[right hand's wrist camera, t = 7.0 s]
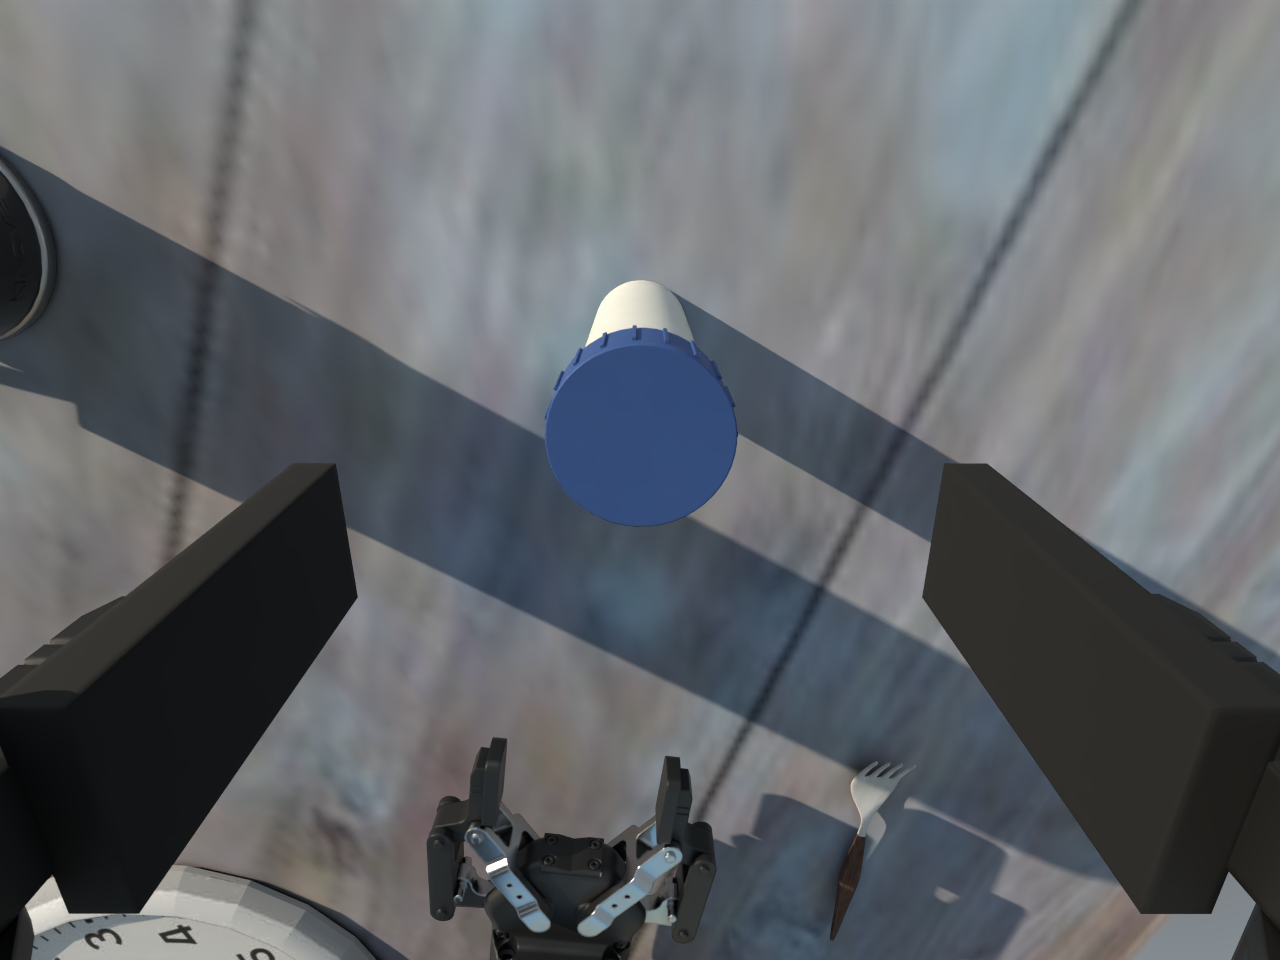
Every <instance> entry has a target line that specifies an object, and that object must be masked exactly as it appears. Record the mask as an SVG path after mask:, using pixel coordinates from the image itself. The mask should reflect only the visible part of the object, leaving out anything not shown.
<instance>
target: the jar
mask: <svg viewBox="0 0 1280 960" xmlns="http://www.w3.org/2000/svg"><path fill="white" fill-rule="evenodd" d="M633 325H637V328H654V329H659V330H663V328H666V329H667V331H668V332H670V333H673V334H675V335H678V336H680V337H682V338H684V339H685V340H687V341H689V342H690V341H691V340H692V341H694V339H693V336H692V333H691V330H690V328H689V325H688V322H687V319H686V316H685V313H684V311H683V308H682V306H681V304H680V302H679V301H678V299H677V298H676V297H675V296H674V295H673V294H672V293H671V292H670V291H669V290H668V289H666V288H665V287H663V286H661V285H659V284H657V283H654V282H650V281H643V280H640V281H631V282H627V283H624V284H622V285H620V286H618V287H617V288H615V289H614V290H612V291H611V292H610V293H609V294H608V295H607V296H606V297H605V299H604V300H603V301H602V303H601V305H600V307H599V309H598V312H597V315H596V318H595V321H594V323H593V326H592V329H591V332H590V335H589V338H588V341H587V344H586V346H587V345H589V344H590V343H592V342H593V341H595V340H597V339H598V338H600V337H602V335H603V333H604V332H607V334H609V333H612V332H615V331H618V330H622V329H629V328H632V327H633Z"/></svg>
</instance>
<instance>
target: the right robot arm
mask: <svg viewBox="0 0 1280 960" xmlns="http://www.w3.org/2000/svg"><path fill="white" fill-rule="evenodd" d="M357 598H358V596H357V590H356V584H355V578H354V572H353V566H352V560H351V554H350V548H349V542H348V535H347V529H346V523H345V517H344V511H343V505H342V499H341V493H340V487H339V481H338V475H337V469H336V464H292V465H291V466H289V467H288V468H287V469H286V470H284V471H283V472H282V473H281V474H279V475H278V476H277V477H275V478H274V479H273V480H272V481H270V482H269V483H268V484H267V485H265V486H264V487H263V488H262V489H260V490H259V491H258V492H257V493H255V494H254V495H253V496H252V497H250V498H249V499H248V500H246V501H245V502H244V503H243V504H241V505H240V506H239V507H238V508H236V509H235V510H234V511H233V512H231V513H230V514H229V515H228V516H226V517H225V518H224V519H223V520H221V521H220V522H219V523H217V524H216V525H215V526H214V527H212V528H211V529H210V530H209V531H207V532H206V533H205V534H204V535H202V536H201V537H200V538H199V539H197V540H196V541H195V542H194V543H192V544H191V545H190V546H188V547H187V548H186V549H185V550H183V551H182V552H181V553H180V554H178V555H177V556H176V557H175V558H173V559H172V560H171V561H170V562H168V563H167V564H166V565H165V566H163V567H162V568H161V569H159V570H158V571H157V572H156V573H154V574H153V575H152V576H151V577H149V578H148V579H147V580H146V581H144V582H143V583H142V584H141V585H139V586H138V587H137V588H136V589H134V590H133V591H132V592H130V593H129V594H128V595H127V596H122V597H120V598H118V599H116V600H114V601H112V602H110V603H108V604H106V605H104V606H102V607H99V608H97V609H95V610H93V611H91V612H89V613H87V614H85V615H83V616H81V617H80V618H79V619H77V620H76V621H75V622H73V623H72V624H71V625H69V626H68V627H67V628H65V629H64V630H63V631H62V632H60V633H59V634H58V635H56V636H55V637H54V638H52V639H51V643H50V645H43V646H42V647H41V648H39V649H38V650H37V651H35V652H34V653H33V654H32V655H30V656H29V657H28V658H26V659H25V663H24V665H17V666H16V667H15V668H13V669H12V670H11V671H9V672H8V673H7V674H5V675H4V676H3V677H2V678H0V960H31V957H32V950H33V943H34V931H33V926H32V921H31V918H30V916H29V914H28V911H27V909H26V907H25V905H26V904H27V903H28V902H29V901H30V900H31V898H32V897H33V896H34V895H35V894H36V893H37V891H38V890H39V889H40V888H41V887H42V886H43V884H44V883H45V882H46V881H47V880H48V879H49V877H50V876H51V875H52V874H53V876H54V879H55V881H56V884H57V886H58V889H59V891H60V894H61V896H62V898H63V901H64V903H65V906H66V908H67V911H68V913H69V914H139V913H140V912H141V910H142V909H143V907H144V906H145V904H146V903H147V902H148V900H149V899H150V897H151V896H152V894H153V893H154V891H155V890H156V889H157V887H158V886H159V884H160V883H161V881H162V880H163V878H164V877H165V876H166V874H167V873H168V871H169V870H170V868H171V867H172V865H173V864H174V863H175V861H176V860H177V858H178V857H179V855H180V854H181V852H182V851H183V849H184V848H185V847H186V845H187V844H188V842H189V841H190V839H191V838H192V836H193V835H194V834H195V832H196V831H197V829H198V828H199V826H200V825H201V823H202V822H203V821H204V819H205V818H206V816H207V815H208V813H209V812H210V810H211V809H212V807H213V806H214V805H215V803H216V802H217V800H218V799H219V797H220V796H221V794H222V793H223V792H224V790H225V789H226V787H227V786H228V784H229V783H230V781H231V780H232V779H233V777H234V776H235V774H236V773H237V771H238V770H239V768H240V767H241V765H242V764H243V763H244V761H245V760H246V758H247V757H248V755H249V754H250V752H251V751H252V750H253V748H254V747H255V745H256V744H257V742H258V741H259V739H260V738H261V737H262V735H263V734H264V732H265V731H266V729H267V728H268V726H269V725H270V723H271V722H272V721H273V719H274V718H275V716H276V715H277V713H278V712H279V710H280V709H281V708H282V706H283V705H284V703H285V702H286V700H287V699H288V697H289V696H290V695H291V693H292V692H293V690H294V689H295V687H296V686H297V684H298V683H299V681H300V680H301V679H302V677H303V676H304V674H305V673H306V671H307V670H308V668H309V667H310V666H311V664H312V663H313V661H314V660H315V658H316V657H317V655H318V654H319V653H320V651H321V650H322V648H323V647H324V645H325V644H326V642H327V641H328V640H329V638H330V637H331V635H332V634H333V632H334V631H335V629H336V628H337V626H338V625H339V624H340V622H341V621H342V619H343V618H344V616H345V615H346V613H347V612H348V611H349V609H350V608H351V606H352V605H353V603H354V602H355V600H356V599H357ZM922 598H923V599H924V600H925V602H926V603H927V605H928V606H929V608H930V609H931V611H932V612H933V613H934V615H935V616H936V618H937V619H938V621H939V622H940V624H941V625H942V626H943V628H944V629H945V631H946V632H947V634H948V635H949V637H950V638H951V640H952V641H953V642H954V644H955V645H956V647H957V648H958V650H959V651H960V653H961V654H962V655H963V657H964V658H965V660H966V661H967V663H968V664H969V666H970V667H971V668H972V670H973V671H974V673H975V674H976V676H977V677H978V679H979V680H980V682H981V683H982V684H983V686H984V687H985V689H986V690H987V692H988V693H989V695H990V696H991V697H992V699H993V700H994V702H995V703H996V705H997V706H998V708H999V709H1000V710H1001V712H1002V713H1003V715H1004V716H1005V718H1006V719H1007V721H1008V722H1009V723H1010V725H1011V726H1012V728H1013V729H1014V731H1015V732H1016V734H1017V735H1018V737H1019V738H1020V739H1021V741H1022V742H1023V744H1024V745H1025V747H1026V748H1027V750H1028V751H1029V752H1030V754H1031V755H1032V757H1033V758H1034V760H1035V761H1036V763H1037V764H1038V765H1039V767H1040V768H1041V770H1042V771H1043V773H1044V774H1045V776H1046V777H1047V779H1048V780H1049V781H1050V783H1051V784H1052V786H1053V787H1054V789H1055V790H1056V792H1057V793H1058V794H1059V796H1060V797H1061V799H1062V800H1063V802H1064V803H1065V805H1066V806H1067V807H1068V809H1069V810H1070V812H1071V813H1072V815H1073V816H1074V818H1075V819H1076V821H1077V822H1078V823H1079V825H1080V826H1081V828H1082V829H1083V831H1084V832H1085V834H1086V835H1087V836H1088V838H1089V839H1090V841H1091V842H1092V844H1093V845H1094V847H1095V848H1096V849H1097V851H1098V852H1099V854H1100V855H1101V857H1102V858H1103V860H1104V861H1105V863H1106V864H1107V865H1108V867H1109V868H1110V870H1111V871H1112V873H1113V874H1114V876H1115V877H1116V878H1117V880H1118V881H1119V883H1120V884H1121V886H1122V887H1123V889H1124V890H1125V891H1126V893H1127V894H1128V896H1129V897H1130V899H1131V900H1132V902H1133V903H1134V905H1135V906H1136V907H1137V909H1138V910H1139V912H1140V913H1141V914H1211V913H1212V910H1213V908H1214V906H1215V903H1216V901H1217V898H1218V896H1219V894H1220V891H1221V889H1222V886H1223V884H1224V881H1225V879H1226V876H1227V874H1228V872H1230V873H1231V874H1232V876H1233V877H1234V878H1235V879H1236V880H1237V881H1238V882H1239V884H1240V885H1241V886H1242V887H1243V888H1244V890H1245V891H1246V892H1247V893H1248V894H1249V895H1250V896H1251V898H1252V899H1253V900H1254V901H1255V902H1256V904H1255V907H1254V909H1253V911H1252V914H1251V916H1250V918H1249V920H1248V923H1247V925H1246V927H1245V929H1244V932H1243V934H1242V936H1241V939H1240V941H1239V943H1238V946H1237V948H1236V950H1235V952H1234V955H1233V957H1232V959H1231V960H1280V674H1278V673H1277V672H1276V671H1274V670H1273V669H1272V668H1270V667H1269V666H1268V665H1266V664H1265V663H1264V662H1257V660H1256V656H1255V655H1253V654H1252V653H1251V652H1249V651H1248V650H1247V649H1245V648H1244V647H1243V646H1241V645H1240V644H1239V643H1237V642H1231V640H1230V636H1228V635H1227V634H1226V633H1224V632H1223V631H1222V630H1220V629H1219V628H1218V627H1216V626H1215V625H1214V624H1212V623H1211V622H1210V621H1208V620H1207V619H1206V618H1205V617H1203V616H1202V615H1201V614H1199V613H1197V612H1195V611H1193V610H1191V609H1189V608H1187V607H1185V606H1183V605H1181V604H1178V603H1176V602H1174V601H1172V600H1170V599H1168V598H1166V597H1164V596H1162V595H1160V594H1151V593H1150V592H1148V591H1147V590H1146V589H1144V588H1143V587H1142V586H1141V585H1139V584H1138V583H1137V582H1136V581H1134V580H1133V579H1132V578H1131V577H1129V576H1128V575H1127V574H1126V573H1124V572H1123V571H1122V570H1121V569H1119V568H1118V567H1117V566H1115V565H1114V564H1113V563H1112V562H1110V561H1109V560H1108V559H1107V558H1105V557H1104V556H1103V555H1102V554H1100V553H1099V552H1098V551H1097V550H1095V549H1094V548H1093V547H1092V546H1090V545H1089V544H1088V543H1086V542H1085V541H1084V540H1083V539H1081V538H1080V537H1079V536H1078V535H1076V534H1075V533H1074V532H1073V531H1071V530H1070V529H1069V528H1068V527H1066V526H1065V525H1064V524H1063V523H1061V522H1060V521H1059V520H1057V519H1056V518H1055V517H1054V516H1052V515H1051V514H1050V513H1049V512H1047V511H1046V510H1045V509H1044V508H1042V507H1041V506H1040V505H1039V504H1037V503H1036V502H1035V501H1034V500H1032V499H1031V498H1030V497H1028V496H1027V495H1026V494H1025V493H1023V492H1022V491H1021V490H1020V489H1018V488H1017V487H1016V486H1015V485H1013V484H1012V483H1011V482H1010V481H1008V480H1007V479H1006V478H1005V477H1003V476H1002V475H1001V474H999V473H998V472H997V471H996V470H994V469H993V468H992V467H991V466H989V465H988V464H944V469H943V475H942V481H941V487H940V493H939V499H938V505H937V511H936V517H935V523H934V529H933V535H932V541H931V548H930V554H929V560H928V566H927V572H926V578H925V584H924V590H923V596H922Z"/></svg>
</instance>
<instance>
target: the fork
mask: <svg viewBox="0 0 1280 960" xmlns="http://www.w3.org/2000/svg"><path fill="white" fill-rule="evenodd" d="M877 764H878V762H877V761H875V762H874V763H872V764H871V765H869V766H868V767H866V768H865V769H864V770H862V771H861V772H860V773H859V774H858V775H857V776H856V777H855V778H854V779H853V781H852V783H851V793H852V796H853V799H854V801H855V804H856V806H857V808H858V810H859V813H860V816H861V825H860V828H859V830H858V833H857V835H856V837H855V839H854V841H853V844H852V846H851V848H850V850H849V852H848V854H847V857H846V859H845V861H844V864H843V866H842V869H841V872H840V876H839V882H838V889H837V897H836V904H835V910H834V916H833V921H832V927H831V934H830V940H832V941H833V940H834V938H835V936H836V934H837V932H838V930H839V927H840V925H841V922H842V920H843V918H844V915H845V913H846V910H847V908H848V906H849V903H850V901H851V899H852V897H853V894H854V892H855V890H856V887H857V885H858V881H859V878H860V873H861V867H862V860H863V853H864V845H865V838H866V832H867V827H868V824H869V822H870V820H871V818H872V817H873V815H874V814H875V813H876V811H877V810H878V809H879V808H880V807H881V805H882V804H883V803H884V802H885V800H886V799H887V798H888V797H889V795H890V794H891V793H892V791H893V790H894V788H895V787H896V785H897V783H898V782H899V780H900V779H901V778H902V777H903V776H904V775H905V774H907V773H908V772H909V771H911V770H912V769H914V768H916V765H915V764H914V765H911V766H910V767H908V768H906V769H905V770H903V771H902V772H900V773H899V774H897V775H896V776H895V777H893V778H889V777H890V776H891V775H892V774H893V773H894V772H895V771H897V770H898V769H899V768H901V767H903V764H902V763H901V764H899V765H897V766H895V767H894V768H892V769H891V770H889V771H888V772H887V773H885V774H884V775H883V776H881V777H877V776H878V775H879V774H880V773H881V772H882V771H883V770H884V769H886V768H887V767H888V766H890V762H888V763H886V764H885V765H883V766H881V767H880V768H878V769H877V770H876V771H874V772H873V773H872V774H871V775H869V776H865V775H866V774H867V772H868V771H870V770H871V769H872V768H873V767H874V766H876V765H877Z"/></svg>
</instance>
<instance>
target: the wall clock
mask: <svg viewBox="0 0 1280 960" xmlns="http://www.w3.org/2000/svg"><path fill="white" fill-rule="evenodd" d="M25 907H26V909H27V911H28V914H29V916H30V918H31V921H32V926H33V931H34V943H33V950H32V957H31V960H376V959H375V958H374V957H373V955H372V954H371V953H370V952H369V951H368V950H367V949H366V948H365V947H364V946H363V945H362V943H361V942H360V941H359V940H358V939H357V938H356V937H355V936H353V935H352V934H350V933H349V932H347V931H346V930H345V929H343V928H342V927H340V926H339V925H337V924H336V923H334V922H333V921H331V920H330V919H328V918H327V917H325V916H324V915H322V914H321V913H319V912H318V911H317V910H315V909H314V908H312V907H311V906H309V905H307V904H305V903H303V902H300V901H298V900H296V899H293V898H291V897H289V896H286V895H284V894H281V893H279V892H277V891H274V890H272V889H270V888H267V887H265V886H263V885H260V884H258V883H256V882H253V881H251V880H247V879H242V878H238V877H234V876H229V875H225V874H221V873H216V872H212V871H208V870H203V869H199V868H194V867H190V866H180V865H172V867H171V868H170V870H169V871H168V873H167V874H166V876H165V877H164V878H163V880H162V881H161V883H160V884H159V886H158V887H157V889H156V890H155V891H154V893H153V894H152V896H151V897H150V899H149V900H148V902H147V903H146V904H145V906H144V907H143V909H142V910H141V912H140V913H139V914H69V913H68V911H67V908H66V906H65V903H64V901H63V898H62V896H61V894H60V891H59V889H58V886H57V884H56V881H55V879H54V877H52V878H50V879H48V880H47V881H46V882H45V883H44V884H43V886H42V887H41V888H40V889H39V890H38V891H37V893H36V894H35V895H34V896H33V897H32V898H31V900H30V901H29V902H28V903H27V904H26V905H25Z"/></svg>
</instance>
